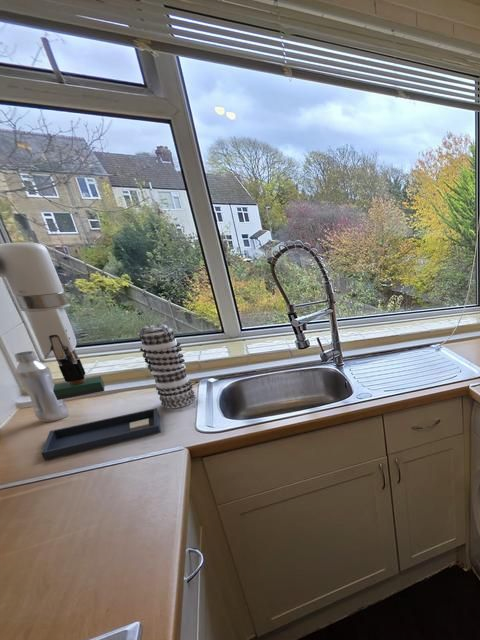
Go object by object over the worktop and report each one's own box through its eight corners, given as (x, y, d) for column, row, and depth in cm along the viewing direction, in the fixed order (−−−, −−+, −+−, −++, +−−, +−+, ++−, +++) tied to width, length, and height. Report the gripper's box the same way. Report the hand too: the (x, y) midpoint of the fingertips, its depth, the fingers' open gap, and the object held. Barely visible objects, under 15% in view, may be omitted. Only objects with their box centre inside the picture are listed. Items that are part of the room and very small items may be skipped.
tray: (45, 462, 97) (41, 453, 96) (54, 439, 106) (49, 430, 105) (161, 434, 110) (158, 425, 109) (159, 415, 119) (156, 407, 118)
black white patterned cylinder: (197, 406, 125) (172, 328, 115) (159, 413, 120) (129, 332, 111) (199, 396, 132) (176, 321, 122) (163, 402, 128) (135, 324, 118)
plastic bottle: (37, 427, 112) (2, 359, 104) (41, 418, 117) (9, 352, 109) (70, 420, 116) (39, 354, 108) (73, 412, 121) (43, 348, 113)
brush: (57, 400, 94) (39, 361, 90) (59, 393, 97) (42, 356, 94) (104, 391, 99) (89, 354, 95) (104, 385, 102) (90, 349, 99)
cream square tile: (131, 432, 109) (129, 428, 109) (131, 426, 112) (129, 422, 112) (150, 427, 112) (149, 423, 111) (149, 422, 115) (148, 418, 114)
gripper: (24, 297, 93) (57, 372, 100) (10, 310, 82) (48, 393, 89) (70, 294, 98) (99, 365, 105) (63, 305, 86) (95, 384, 94)
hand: (75, 377), depth 97 cm, fingers closed on brush, 2 cm apart
